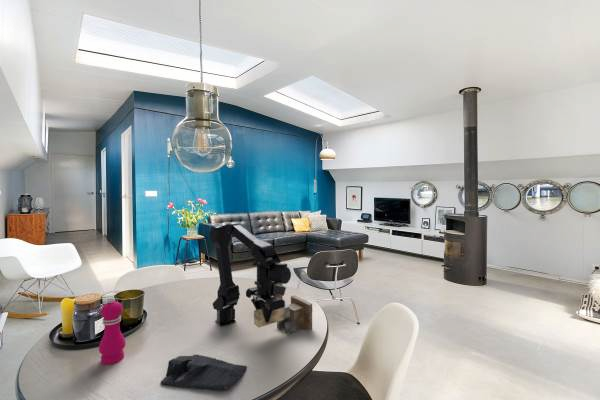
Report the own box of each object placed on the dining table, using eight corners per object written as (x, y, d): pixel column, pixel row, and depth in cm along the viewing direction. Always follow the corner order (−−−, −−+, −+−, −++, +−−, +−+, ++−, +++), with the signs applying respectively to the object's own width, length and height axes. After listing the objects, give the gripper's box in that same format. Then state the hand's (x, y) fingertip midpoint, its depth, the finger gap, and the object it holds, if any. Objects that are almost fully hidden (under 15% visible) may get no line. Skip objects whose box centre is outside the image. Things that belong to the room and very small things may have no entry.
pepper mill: (120, 350, 100) (119, 292, 100) (129, 358, 96) (128, 296, 95) (95, 360, 95) (94, 298, 94) (103, 368, 90) (102, 303, 90)
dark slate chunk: (224, 401, 77) (224, 383, 77) (155, 385, 83) (155, 368, 83) (251, 368, 92) (251, 352, 91) (190, 356, 98) (190, 342, 98)
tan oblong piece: (258, 327, 107) (258, 313, 106) (254, 324, 109) (254, 310, 109) (290, 317, 115) (291, 304, 115) (285, 314, 118) (285, 302, 118)
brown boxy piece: (291, 336, 110) (291, 310, 110) (273, 325, 120) (273, 300, 119) (312, 329, 116) (312, 303, 116) (293, 318, 126) (293, 295, 125)
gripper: (297, 280, 107) (297, 323, 107) (269, 269, 122) (269, 307, 122) (270, 286, 100) (270, 332, 101) (245, 274, 115) (245, 314, 116)
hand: (264, 320), depth 110 cm, fingers closed on tan oblong piece, 3 cm apart
